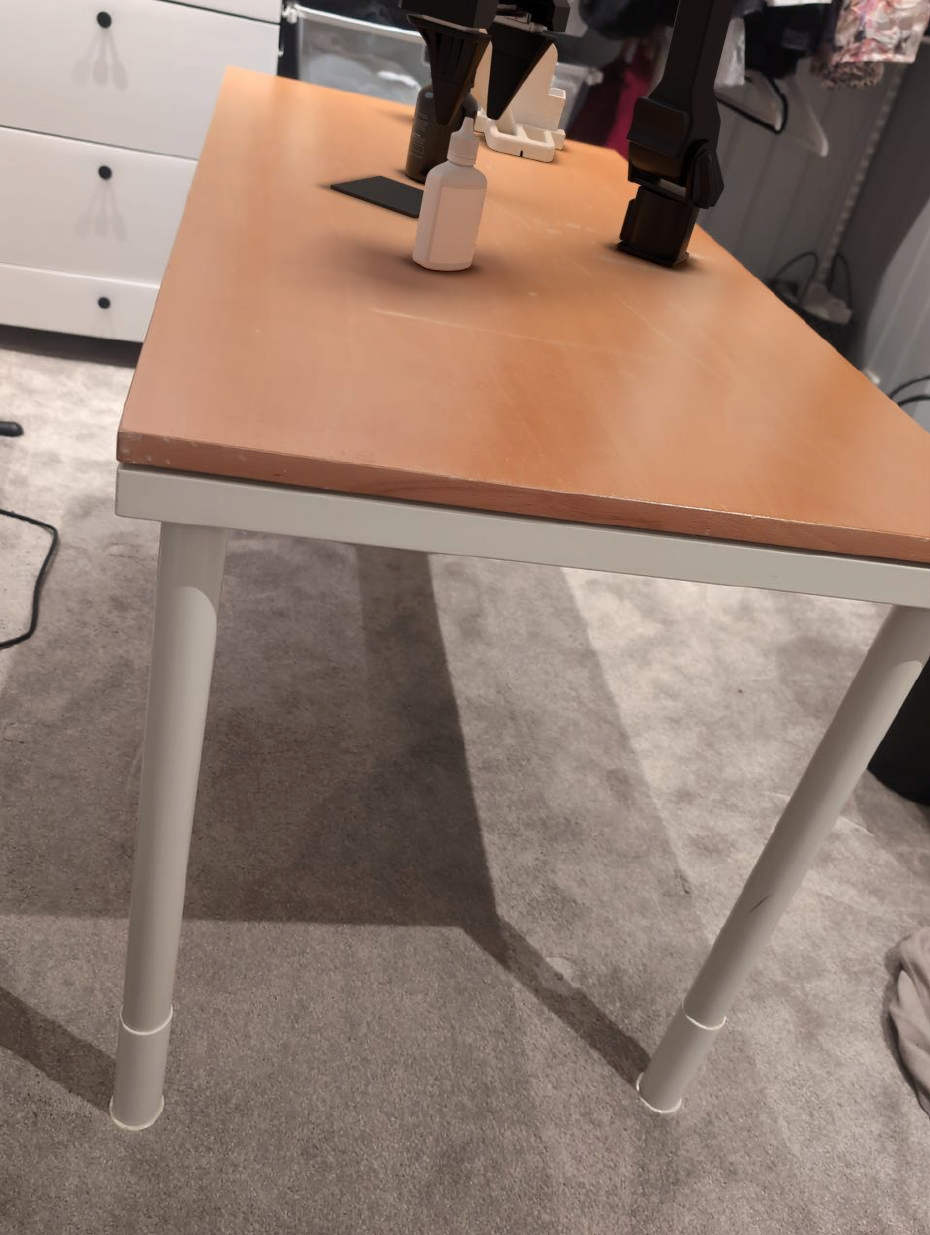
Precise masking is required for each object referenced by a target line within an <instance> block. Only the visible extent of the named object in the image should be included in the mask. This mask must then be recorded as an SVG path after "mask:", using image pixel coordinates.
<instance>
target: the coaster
mask: <svg viewBox="0 0 930 1235" xmlns="http://www.w3.org/2000/svg"><path fill="white" fill-rule="evenodd" d="M329 187H330V188H329V189H331V190H335V191H338V192H340V193H343V194H346V195H349V196H352V197H353V198H357V199H360V200H362V201H365V202H368V203H371V204H374V205H377V206H380V207H383V208H385V209H388V210H391V211H394V212H396V213H399V214H403V215H405V216H408V217H411V218H414V219H415V218H419V215H420V210H421V204H422V199H423V193H424V189H421V188H418V187H415V186H412V185H409V184H405V183H404V182H400V181H397V180H395V179H392V178H389V177H386V176H383V175H377V176H371V177H366V178H361V179H355V180H351V181H344V182H340V183H333V184H330V186H329Z"/></svg>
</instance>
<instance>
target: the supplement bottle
mask: <svg viewBox="0 0 930 1235" xmlns="http://www.w3.org/2000/svg"><path fill="white" fill-rule="evenodd" d="M476 71H477V70H476ZM475 77H476V72H475V74H474V77H473V79H472V81H471V83H470V85H469V87H468V89H467V92H466V94H465V96H464V98H463V100H462V102H461V105H460V107H459V109H458V111H457V113H456V114H455V116H454V118H453V120H452V122H451V124H450V125H449V126H443V125H440V124H437V123H436V119H435V109H434V99H433V89H432V79H431V71H429V78H430V79H431V81H430V83H429V84H426V85H424V86H423V87H421V88H420V90H419V91H418V93H417V97H416V103H415V107H414V113H413V119H412V125H411V131H410V137H409V143H408V149H407V153H406V154H407V155H406V161H405V167H404V170H405V173H406V175H407V176H408V177H410V178H411V179H413V180H415V181H418V182H420V183H422V184H423V183H424V184H425V183H426V178H427V175H428V173H429V172H430V170H431V169H433V168H434V167H436V166H438V165H440V164H442V163H445V162H446V161H448V160H449V159H447V155H448V150H449V144H450V139H451V134H452V133H453V132H457V131H459V130H460V129H461V127H462V125H463V122H464V119H465V117H469V118H472V119H473V132H474V133H475V131H474V128H475V124H476V119H477V114H478V111H479V104H478V102H477V101H476V99H475V98H474V97H473V95H472V94H471V88H474V85H475V83H474V81H475Z"/></svg>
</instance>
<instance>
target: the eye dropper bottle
mask: <svg viewBox="0 0 930 1235" xmlns="http://www.w3.org/2000/svg"><path fill="white" fill-rule="evenodd" d="M480 143H481V139H480V138H479V137H478V136H477V135H476V134H475V131H474V132H473V119H472V118H469V117H465V119H464V122H463V125H462V127H461V129H460V130H459V131H457V132H453V133H452V134H451V139H450V144H449V150H448V155H447V159H449V160H448V161H446V162H445V163H442V164H440V165H438V166H436V167H434V168H433V169H431V170H430V172H429V173H428V175H427V178H426V183H424V187H423V190H424V193H423V199H422V204H421V210H420V215H419V217H418V221H417V226H416V233H415V239H414V244H413V250H412V260H413V262H415V263H416V264H418V265H419V266H422V267H423V268H425V269H428V270H434V271H444V272H445V271H446V272H452V271H453V272H454V271H461V270H465V269H468V268H470V267H471V266H472V263H473V259H474V255H475V249H476V245H477V239H478V235H479V230H480V224H481V220H482V215H483V211H484V205H485V200H486V195H487V189H488V179H487V177H486V175H485V174H484V173H483V172H482V171H481V170H480V169H478V168H476V167H475V165H476V164H477V159H478V154H479V148H480Z"/></svg>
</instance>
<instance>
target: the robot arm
mask: <svg viewBox="0 0 930 1235" xmlns="http://www.w3.org/2000/svg"><path fill="white" fill-rule="evenodd" d="M735 3H736V0H679V2H678V5H677V11H676V14H675V20H674V25H673V28H672V33H671V37H670V40H669V41H670V42H669V46H668V51H667V55H666V59H665V63H664V69H663V73H662V76H661V79H660V80H659V82H657V84H656V85H655V87H654V88H653V89H652V90H651V92H649V94H648V95H647V96H642V95H639V96H638V97H637V98H636V100H635V102H634V103H633V111H632V120H631V124H630V127H629V129H628V132H627V134H626V136H625V140H626V141H628V148H627V150H628V154H627V155H628V164H627V182H629V183H632V184H636V185H639V186H638V187H637V191H636V194H635V197H633V198H631V199H630V200H629V201H628V203H627V207H626V210H625V214H624V218H623V221H622V225H621V228H620V233H619V235H618V238H619V242H617V243H616V245H615V246H616V247H615V248H616V249H618V250H621V251H623V252H626V253H630V254H632V255H635V256H637V257H641V258H644V259H647V260H650V261H653V262H656V263H659V264H661V265H664V266H668V267H675V266H676V265H678V264H681V263H682V262H683V261H686V260H687V259H689V256H690V253H689V252H687V250H688V247H689V245H690V241H691V238H692V234H693V232H694V229H695V226H696V222H697V220H698V216H699V213H700V210H701V209H703V210H709V208H714V207H715V206H716V205H717V203H718V201H719V199H720V197H721V196H722V194H723V192H724V190H725V183H724V179H723V173H722V169H721V165H720V162H719V156H718V152H717V149H718V144H719V143H718V142H719V137H720V130H721V126H722V120H721V114H720V110H719V106H718V101H717V97H716V93H715V82H716V78H717V75H718V70H719V67H720V62H721V58H722V54H723V51H724V46H725V43H726V40H727V35H728V31H729V28H730V27H729V26H730V22H731V18H732V15H733V11H734V7H735ZM397 7H398V8H400V9H402V10H405V11H409V12H412V13H413V14H412V13H406V19H407V21H408V23H409V24H410V25H411V24H412V25H413V26H414V27H415V28H416V30H417V32H418V33H419V35H420V36H421V38H422V40H423V41H424V43H425V45H426V48H427V54H428V61H429V67H430V72H431V78H430V79H431V80H432V89H433V99H434V109H435V119H436V123H437V124H440V125H443V126H449V125H450V124H451V122H452V120H453V118H454V116H455V114H456V113H457V111H458V109H459V107H460V105H461V102H462V100H463V98H464V96H465V94H466V92H467V89H468V87H469V85H470V83H471V81H472V79H473V77H474V74H475V72H476V70H477V68H478V66H479V64H480V62H481V60H482V58H483V55H484V53H485V51H486V49H487V47H488V45H489V43H490V41H491V43H492V54H491V64H490V74H489V84H488V94H487V111H486V116H487V118H489V119H492V120H499V119H500V118H501V116H502V115H503V113H504V112H505V110H506V109H507V107H508V106H509V104H510V103H511V101H512V100H513V98H514V97H515V95H516V94H517V92H518V91H519V89H520V88H521V86H522V85H523V83H524V82H525V81H526V79H527V78H528V76H529V75H530V73H531V72H532V71H533V69H534V68H535V67H536V65H537V64H538V62H539V61H540V60H541V58H542V57H543V56H544V54H545V53H546V52H547V50H548V49H549V47H550V46H551V45H552V44H554V45H555V44H556V42H557V40H558V36H556V35H552V34H549V33H545V32H544V28H546V31H549V32H551V33H565V34H566V31H567V27H568V21H569V17H570V12H571V8H572V7H571V5H570V3H569V1H568V0H398V5H397ZM414 13H416V14H414ZM479 29H486V32H487V34H486V33H483V32H479Z"/></svg>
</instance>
